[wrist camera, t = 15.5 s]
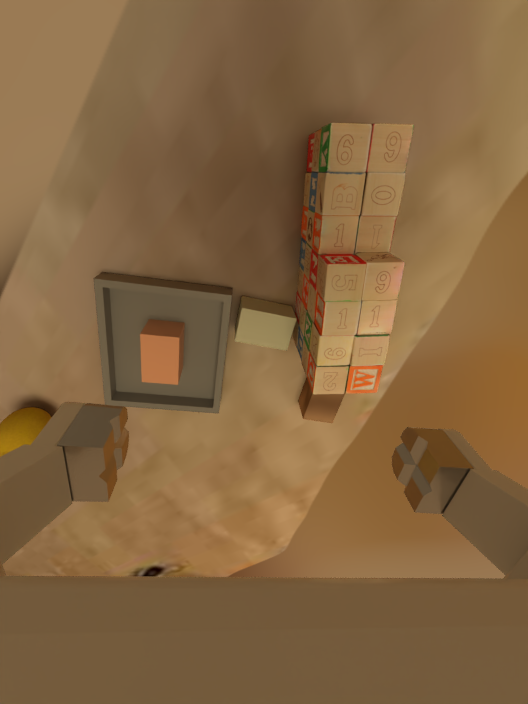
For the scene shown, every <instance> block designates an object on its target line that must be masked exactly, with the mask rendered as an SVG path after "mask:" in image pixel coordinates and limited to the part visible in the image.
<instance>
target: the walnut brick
mask: <svg viewBox="0 0 528 704" xmlns="http://www.w3.org/2000/svg"><path fill="white" fill-rule="evenodd" d="M344 395H345V392H344V394H313V393H312V391H311V388H310V385H309V382H308V378H306V380H305V383H304V386H303V389H302V392H301V394H300V397H299V400H298V402H299V405H300V409H301V413H302V416H303V419H307V420H314V421H321V422H327V423H333V420H334V418H335V416H336V413H337V411H338V409H339V406H340V404H341V402H342V399H343V397H344Z"/></svg>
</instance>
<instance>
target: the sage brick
mask: <svg viewBox="0 0 528 704" xmlns="http://www.w3.org/2000/svg"><path fill="white" fill-rule="evenodd" d="M296 320H297V318H296V316H295V313H294V311H293V308H292V306H289V305H284V304H279V303H274V302H270V301H265V300H260V299H255V298H250V297H245V296H242V297H241V302H240V306H239V311H238V316H237V320H236V325H235V341H236V342H242V343H247V344H253V345H258V346H264V347H269V348H275V349H280V350H286V351H287V349H288V346H289V342H290V339H291V336H292V333H293V329H294V326H295V323H296Z"/></svg>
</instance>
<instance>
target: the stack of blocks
mask: <svg viewBox="0 0 528 704" xmlns="http://www.w3.org/2000/svg"><path fill="white" fill-rule="evenodd" d="M413 129H414V125H412V124H380V123H374V124H359V123H330V124H328V125H326V126H324V127H322V129H320V130H318V131H316V132H315V133H313V134H311V135H309V142H308V158H307V173H306V175H305V187H304V202H303V204H304V206H303V213H302V227H301V249H300V262H299V263H300V266H299V277H298V290H297V296H296V308H295V316H296V318H297V320H296V323H295V326H294V331H293V338H294V341H295V344H296V347H297V348H298V352H299V354H300V357H301V361H302V365H303V368H304V371H305V374H306V377H307V378H308V382H309V385H310V388H311V391H312V393H313V394H344V392H345V393H350V394H352V393H375V392H377V391H378V387H379V382H380V377H381V373H382V368H383V365H384V364H385V360H386V355H387V350H388V345H389V340H390V335H389V334H390V333H391V331H392V328H393V322H394V318H395V312H396V308H397V298H398V295H399V290H400V285H401V280H402V276H403V270H404V265H405V262H404V261H402V260H400V259H399V258H397V257H395V256H394V255H392V254H390V248H391V243H392V237H393V232H394V227H395V222H396V216H397V215H398V212H399V207H400V202H401V197H402V192H403V187H404V181H405V176H406V173H405V169H406V165H407V160H408V155H409V150H410V145H411V139H412V134H413Z"/></svg>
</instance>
